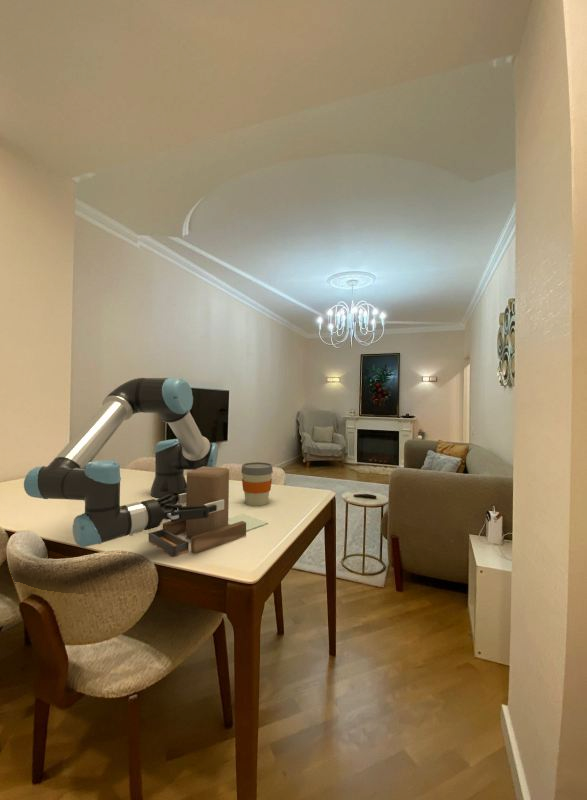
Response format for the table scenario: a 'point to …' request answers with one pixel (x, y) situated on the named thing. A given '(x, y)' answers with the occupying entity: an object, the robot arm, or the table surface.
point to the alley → (208, 535)
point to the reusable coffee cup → (256, 482)
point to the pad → (247, 521)
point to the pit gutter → (168, 542)
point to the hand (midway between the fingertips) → (210, 499)
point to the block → (207, 498)
